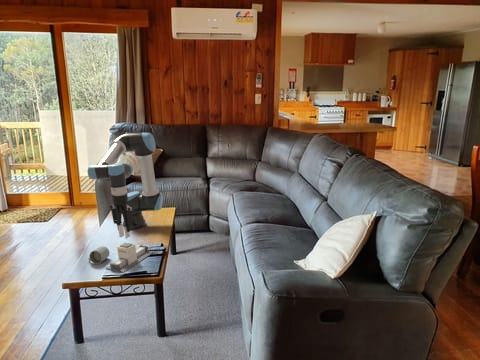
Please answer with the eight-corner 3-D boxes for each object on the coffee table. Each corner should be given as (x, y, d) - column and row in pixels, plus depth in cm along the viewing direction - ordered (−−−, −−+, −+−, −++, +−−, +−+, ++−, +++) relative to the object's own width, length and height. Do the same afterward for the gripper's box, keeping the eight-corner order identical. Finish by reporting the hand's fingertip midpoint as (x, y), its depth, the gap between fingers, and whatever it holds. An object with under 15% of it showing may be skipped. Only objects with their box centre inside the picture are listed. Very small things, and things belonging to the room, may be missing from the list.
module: (127, 257, 190) (124, 241, 188) (137, 259, 187) (135, 243, 185) (118, 262, 185) (116, 246, 182) (129, 264, 182) (127, 247, 180)
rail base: (136, 249, 201) (136, 244, 200) (153, 252, 196) (152, 247, 195) (105, 268, 180) (104, 262, 179) (123, 272, 175) (122, 266, 174)
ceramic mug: (111, 257, 192) (109, 244, 190) (102, 264, 184) (100, 251, 183) (94, 256, 194) (92, 244, 193) (85, 263, 187) (82, 250, 185)
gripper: (101, 194, 177) (107, 237, 183) (126, 197, 171) (132, 241, 176) (112, 190, 184) (118, 232, 189) (137, 193, 177) (142, 236, 183)
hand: (124, 236), depth 183 cm, fingers open, 3 cm apart
